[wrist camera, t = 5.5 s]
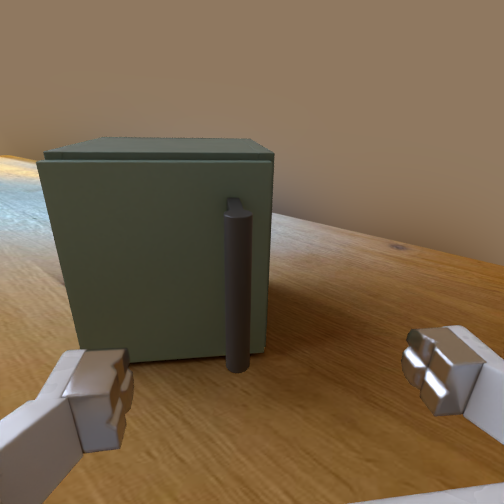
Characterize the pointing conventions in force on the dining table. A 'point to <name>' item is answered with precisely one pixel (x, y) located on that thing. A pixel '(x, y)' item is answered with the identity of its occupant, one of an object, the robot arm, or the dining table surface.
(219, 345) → the door
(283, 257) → the dining table surface
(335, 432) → the dining table surface
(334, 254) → the dining table surface
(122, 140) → the housing
